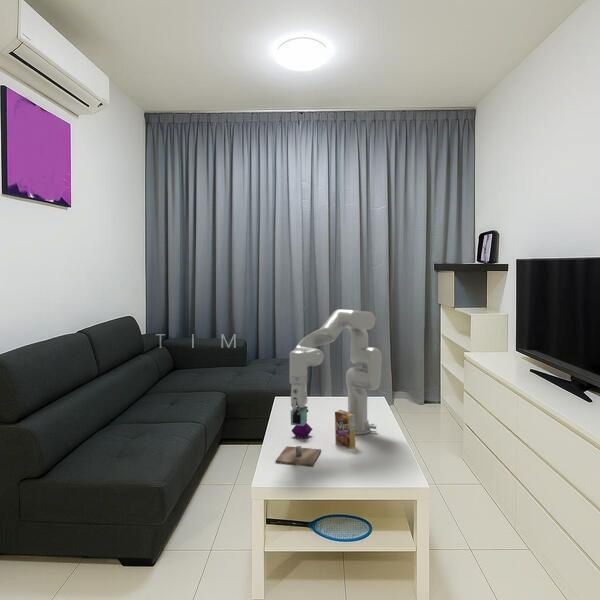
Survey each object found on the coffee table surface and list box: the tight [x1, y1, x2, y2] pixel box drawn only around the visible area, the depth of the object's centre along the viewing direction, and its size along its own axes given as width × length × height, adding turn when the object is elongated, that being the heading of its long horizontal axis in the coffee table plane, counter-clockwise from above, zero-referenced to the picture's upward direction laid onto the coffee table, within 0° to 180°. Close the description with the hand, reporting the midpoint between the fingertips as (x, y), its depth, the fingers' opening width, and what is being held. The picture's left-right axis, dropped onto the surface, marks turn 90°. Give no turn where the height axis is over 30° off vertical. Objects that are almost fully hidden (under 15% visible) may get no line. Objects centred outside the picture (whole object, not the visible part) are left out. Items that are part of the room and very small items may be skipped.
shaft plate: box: [274, 445, 322, 468], centre depth 197 cm, size 16×16×4 cm
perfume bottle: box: [291, 405, 313, 439], centre depth 221 cm, size 8×8×18 cm
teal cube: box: [290, 408, 308, 426], centre depth 196 cm, size 6×6×6 cm
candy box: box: [334, 409, 356, 449], centre depth 210 cm, size 9×4×15 cm, turn 45°
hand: (298, 420), depth 196 cm, fingers closed on teal cube, 5 cm apart
